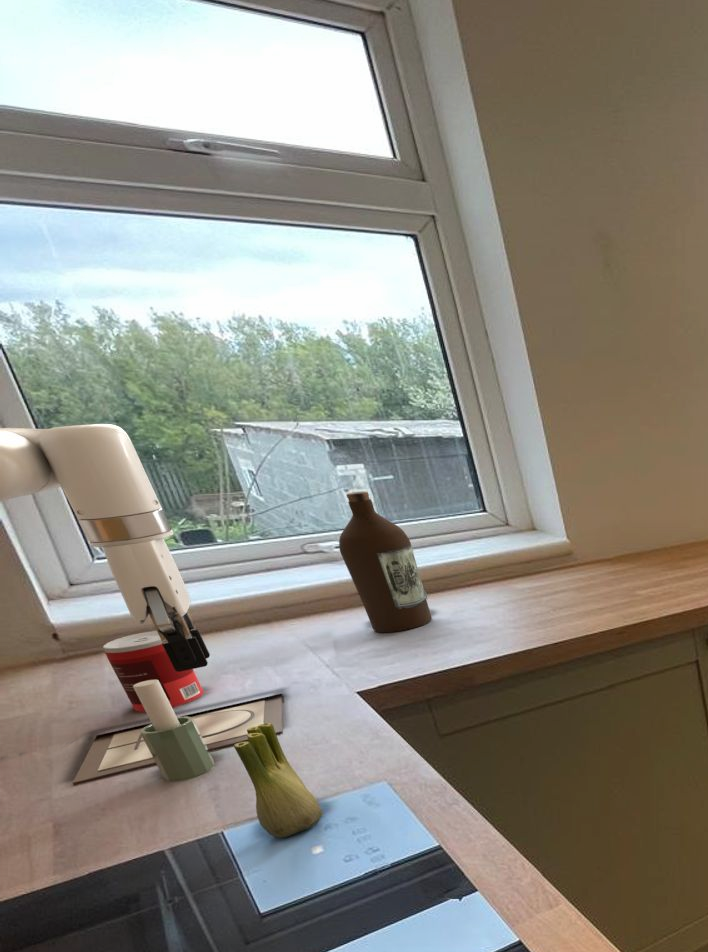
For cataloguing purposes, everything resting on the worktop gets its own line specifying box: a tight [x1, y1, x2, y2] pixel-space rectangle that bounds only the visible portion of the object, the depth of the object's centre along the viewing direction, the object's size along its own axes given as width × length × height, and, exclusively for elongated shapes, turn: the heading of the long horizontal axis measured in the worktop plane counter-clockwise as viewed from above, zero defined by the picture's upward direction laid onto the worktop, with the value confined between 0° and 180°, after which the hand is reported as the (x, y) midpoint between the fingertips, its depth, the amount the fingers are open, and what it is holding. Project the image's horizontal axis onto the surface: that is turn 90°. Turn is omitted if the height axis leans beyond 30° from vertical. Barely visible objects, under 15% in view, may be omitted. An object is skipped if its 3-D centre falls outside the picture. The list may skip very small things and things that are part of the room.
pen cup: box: [140, 715, 216, 782], centre depth 99 cm, size 5×5×7 cm
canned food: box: [102, 630, 205, 713], centre depth 119 cm, size 8×8×11 cm
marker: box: [133, 680, 180, 731], centre depth 98 cm, size 2×2×12 cm
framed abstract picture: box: [72, 693, 285, 786], centre depth 111 cm, size 20×18×1 cm
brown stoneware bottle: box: [338, 490, 433, 633], centre depth 150 cm, size 11×11×25 cm
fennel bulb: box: [233, 723, 323, 838], centre depth 85 cm, size 6×5×12 cm
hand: (193, 663), depth 108 cm, fingers open, 3 cm apart
